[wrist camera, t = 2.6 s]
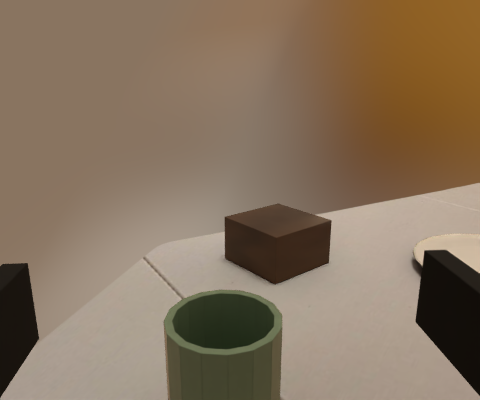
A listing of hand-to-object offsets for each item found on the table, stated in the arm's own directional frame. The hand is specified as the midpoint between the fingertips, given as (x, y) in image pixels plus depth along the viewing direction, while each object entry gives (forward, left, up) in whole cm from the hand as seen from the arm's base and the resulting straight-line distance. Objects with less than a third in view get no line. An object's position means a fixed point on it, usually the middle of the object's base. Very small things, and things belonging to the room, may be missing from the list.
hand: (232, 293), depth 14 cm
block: (-28, +30, -17) cm, 44 cm away
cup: (-8, +6, -17) cm, 19 cm away
